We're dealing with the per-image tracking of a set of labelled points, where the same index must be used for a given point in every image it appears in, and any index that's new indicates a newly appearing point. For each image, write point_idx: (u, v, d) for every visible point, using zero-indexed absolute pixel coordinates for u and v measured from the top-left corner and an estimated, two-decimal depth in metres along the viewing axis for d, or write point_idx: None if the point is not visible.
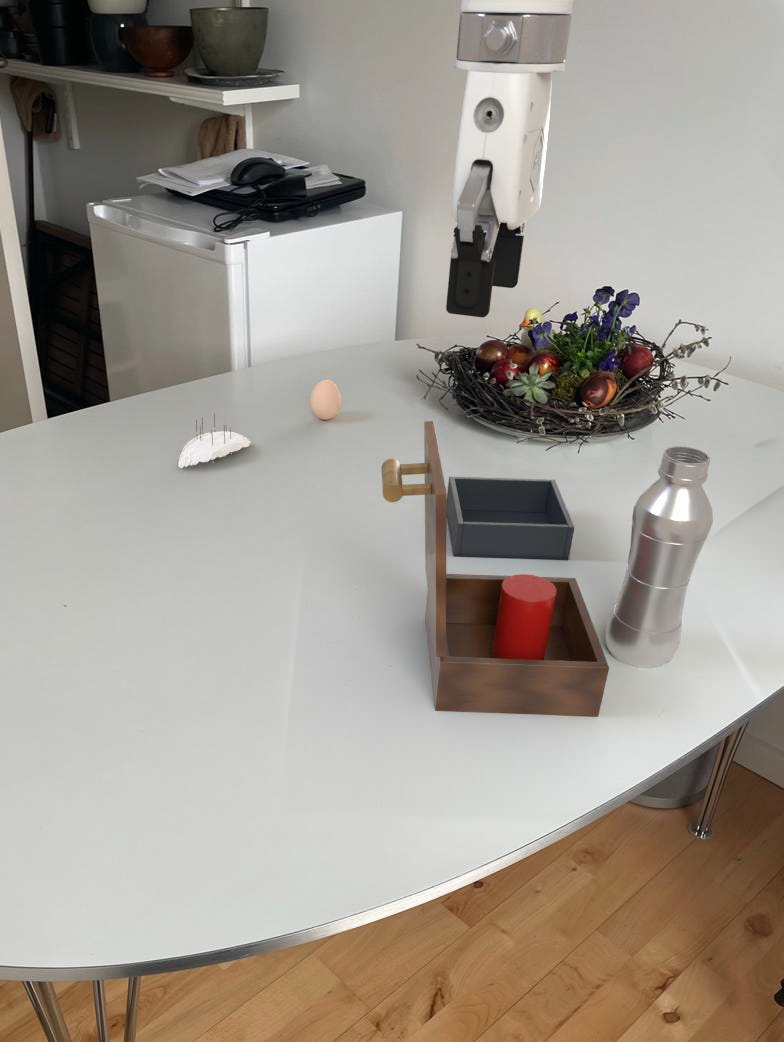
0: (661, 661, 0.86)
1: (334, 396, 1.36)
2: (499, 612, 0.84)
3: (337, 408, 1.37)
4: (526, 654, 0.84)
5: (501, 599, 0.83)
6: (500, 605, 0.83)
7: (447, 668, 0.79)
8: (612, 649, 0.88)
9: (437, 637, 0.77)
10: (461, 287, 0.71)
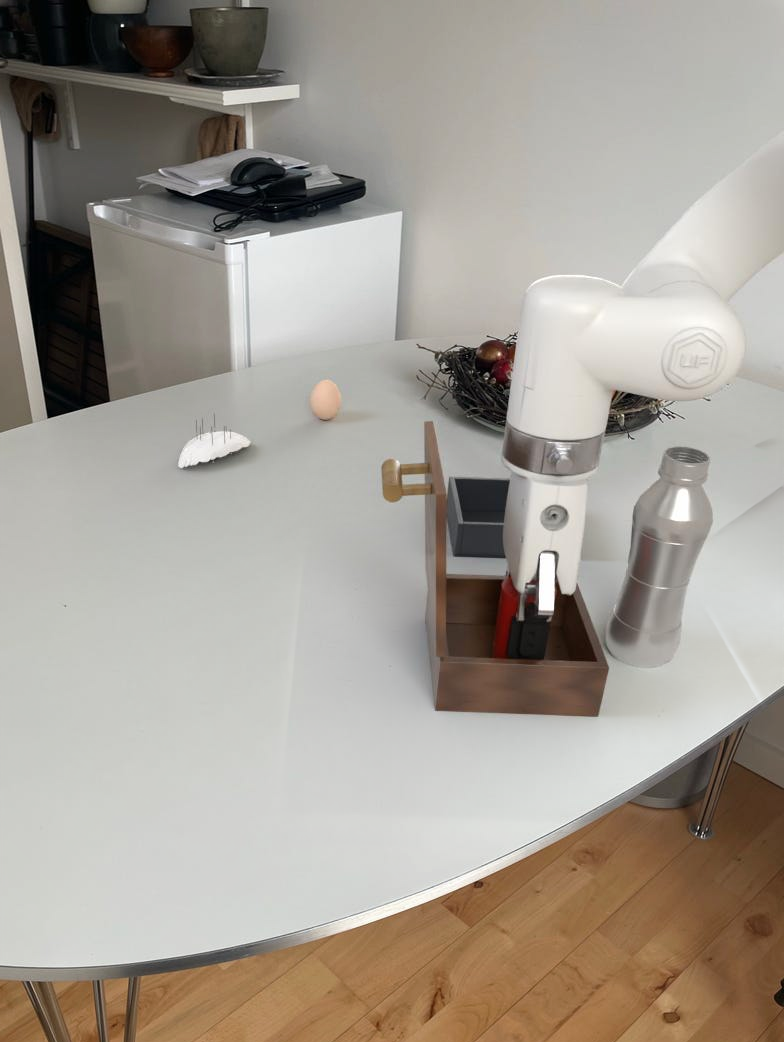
0: (661, 661, 0.86)
1: (334, 396, 1.36)
2: (499, 612, 0.84)
3: (337, 408, 1.37)
4: None
5: (501, 599, 0.83)
6: (500, 605, 0.83)
7: (447, 668, 0.79)
8: (612, 649, 0.88)
9: (437, 637, 0.77)
10: (524, 643, 0.81)
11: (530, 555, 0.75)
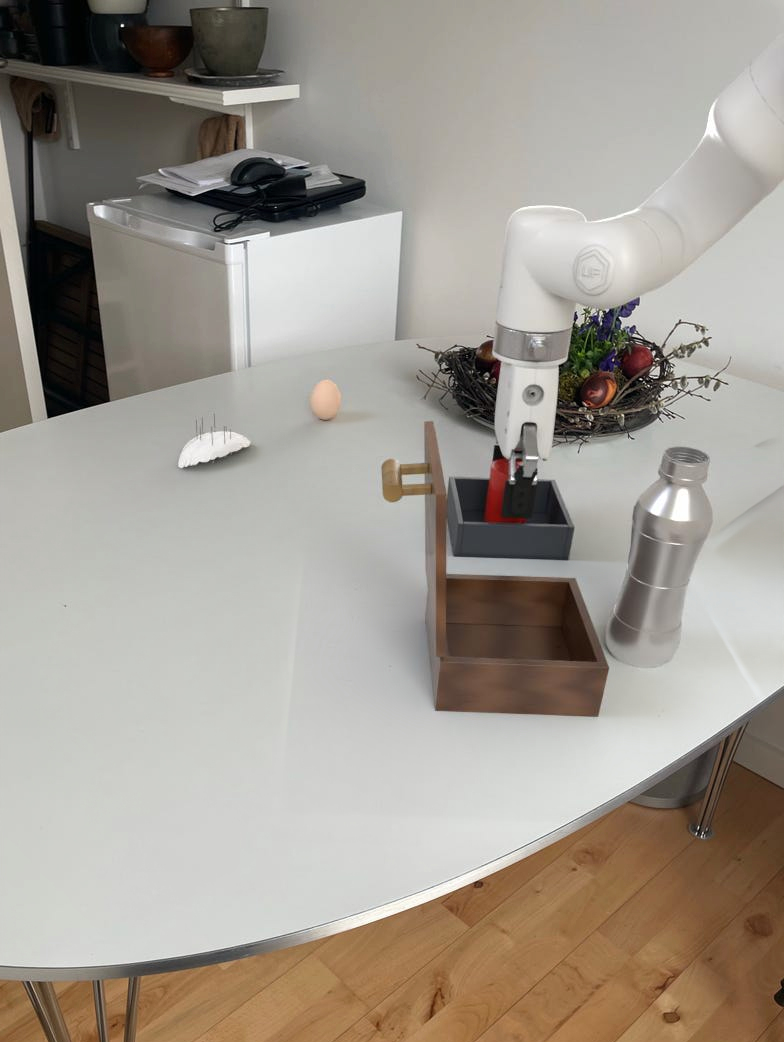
0: (661, 661, 0.86)
1: (334, 396, 1.36)
2: (489, 487, 1.06)
3: (337, 408, 1.37)
4: (510, 520, 1.06)
5: (490, 476, 1.05)
6: (490, 481, 1.06)
7: (447, 668, 0.79)
8: (612, 649, 0.88)
9: (437, 637, 0.77)
10: (516, 502, 1.01)
11: (515, 426, 0.97)
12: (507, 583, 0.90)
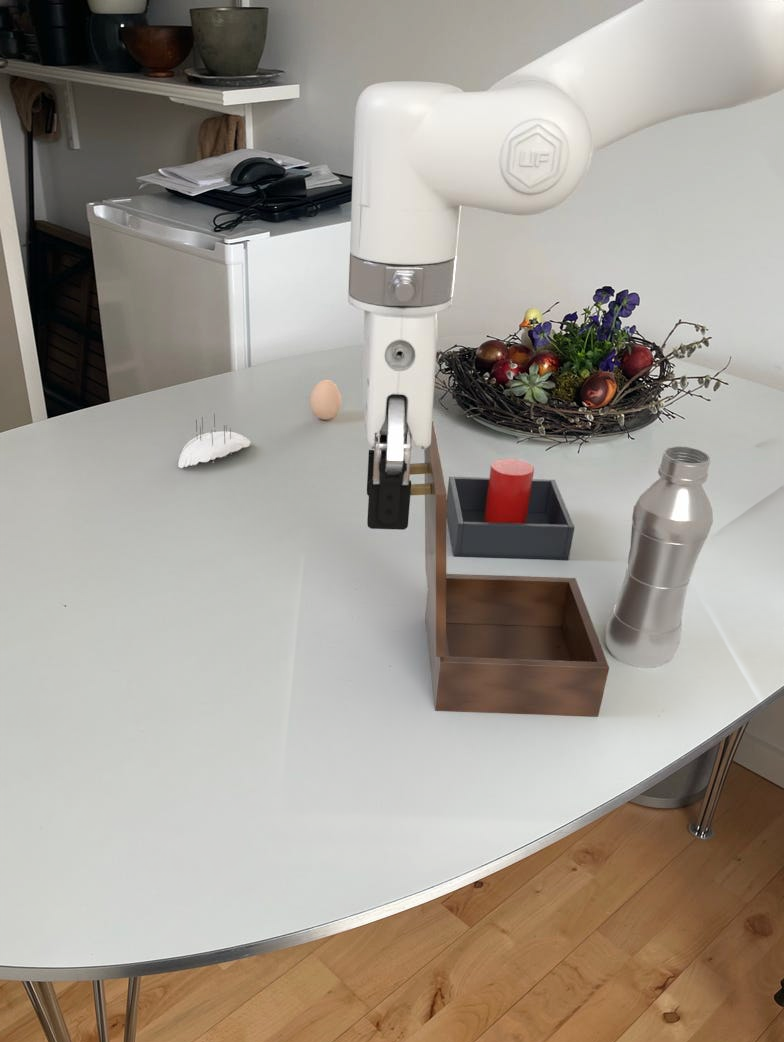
0: (661, 661, 0.86)
1: (334, 396, 1.36)
2: (489, 487, 1.06)
3: (337, 408, 1.37)
4: (510, 520, 1.06)
5: (490, 476, 1.05)
6: (490, 481, 1.06)
7: (447, 668, 0.79)
8: (612, 649, 0.88)
9: (437, 637, 0.77)
10: (383, 508, 0.75)
11: (377, 400, 0.69)
12: (507, 583, 0.90)
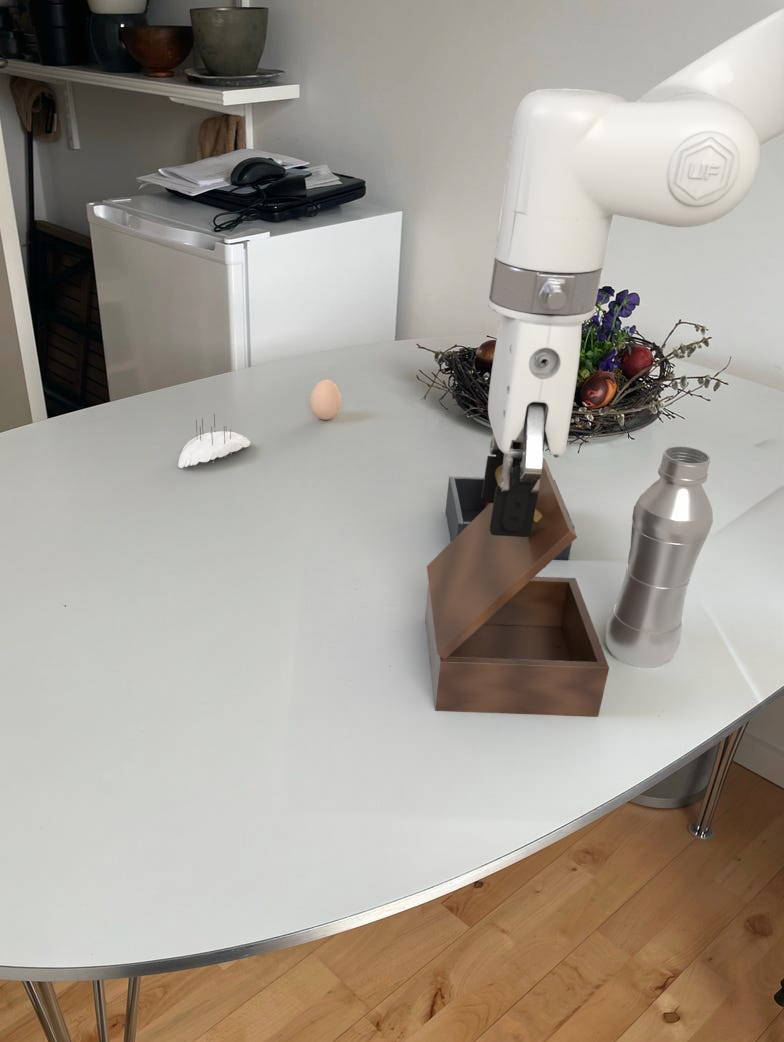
0: (661, 661, 0.86)
1: (334, 396, 1.36)
2: None
3: (337, 408, 1.37)
4: None
5: None
6: None
7: (447, 668, 0.79)
8: (612, 649, 0.88)
9: (454, 640, 0.77)
10: (509, 515, 0.75)
11: (517, 407, 0.69)
12: None
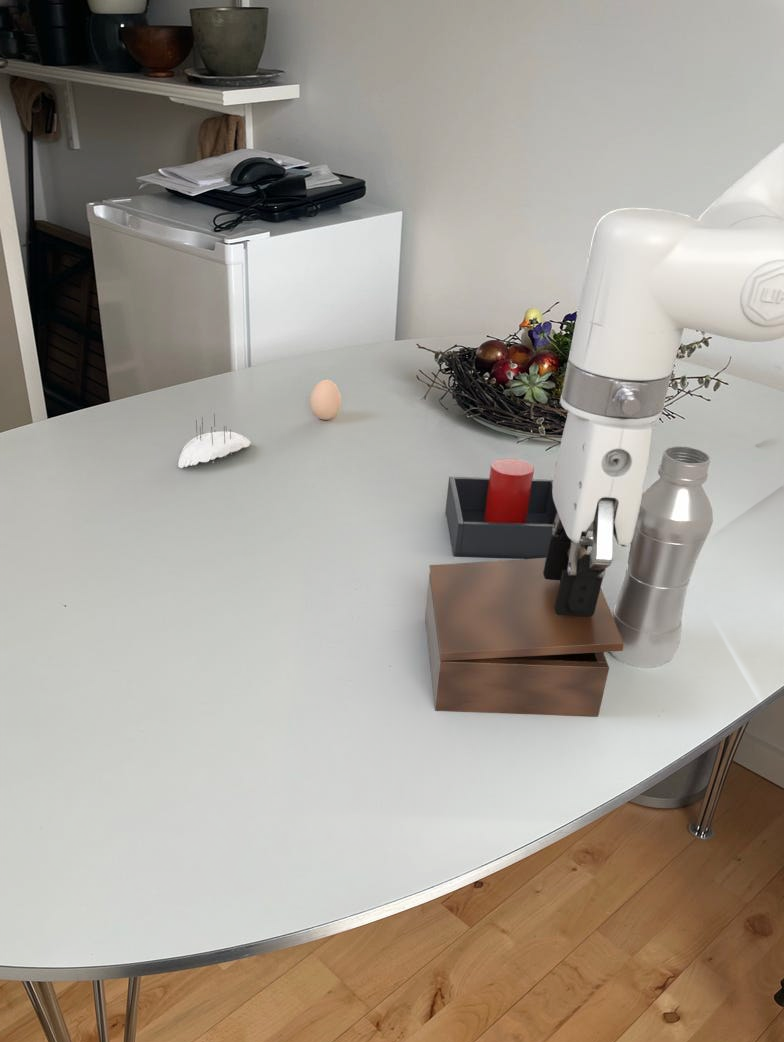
0: (661, 661, 0.86)
1: (334, 396, 1.36)
2: (489, 487, 1.06)
3: (337, 408, 1.37)
4: (510, 520, 1.06)
5: (490, 476, 1.05)
6: (490, 481, 1.06)
7: (447, 668, 0.79)
8: None
9: (464, 653, 0.78)
10: (575, 598, 0.79)
11: (588, 502, 0.73)
12: None
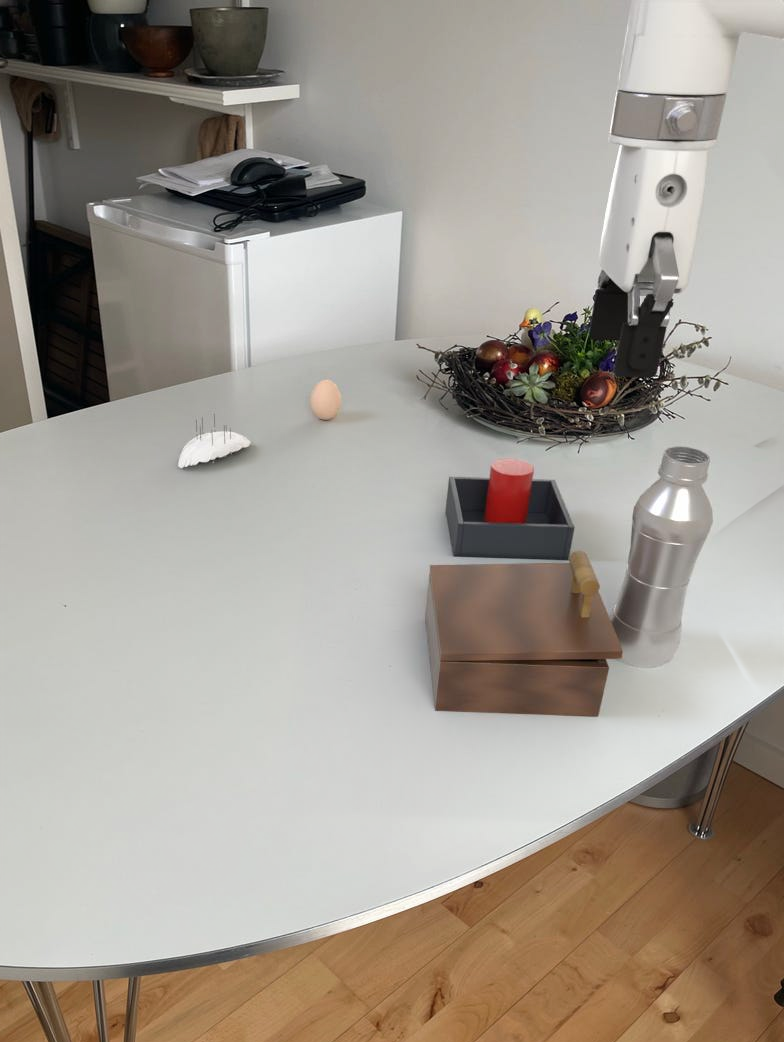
0: (661, 661, 0.86)
1: (334, 396, 1.36)
2: (489, 487, 1.06)
3: (337, 408, 1.37)
4: (510, 520, 1.06)
5: (490, 476, 1.05)
6: (490, 481, 1.06)
7: (447, 668, 0.79)
8: None
9: (465, 654, 0.78)
10: (637, 352, 0.73)
11: (642, 239, 0.70)
12: None
